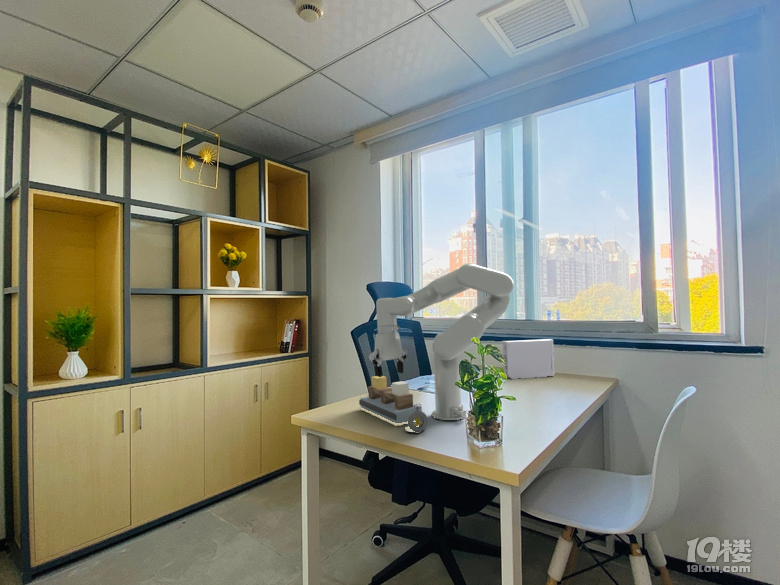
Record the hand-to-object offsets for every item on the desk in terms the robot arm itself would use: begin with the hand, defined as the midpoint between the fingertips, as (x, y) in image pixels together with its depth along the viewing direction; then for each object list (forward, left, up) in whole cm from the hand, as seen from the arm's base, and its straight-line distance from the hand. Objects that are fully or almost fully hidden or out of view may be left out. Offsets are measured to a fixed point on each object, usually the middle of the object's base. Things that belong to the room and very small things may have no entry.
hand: (390, 374), depth 147 cm
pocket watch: (-21, +4, -16) cm, 26 cm away
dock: (0, 0, -16) cm, 16 cm away
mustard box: (+8, 0, -6) cm, 10 cm away
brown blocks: (0, 0, -11) cm, 11 cm away
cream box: (-7, 0, -6) cm, 9 cm away
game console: (+11, -97, -16) cm, 99 cm away
